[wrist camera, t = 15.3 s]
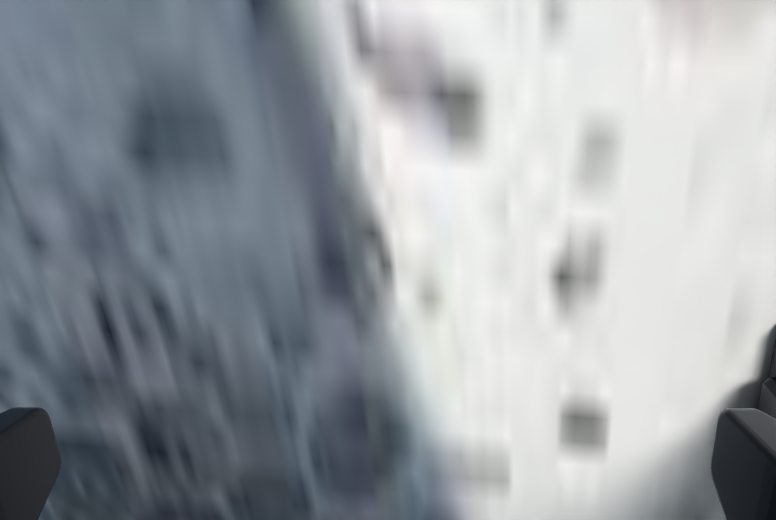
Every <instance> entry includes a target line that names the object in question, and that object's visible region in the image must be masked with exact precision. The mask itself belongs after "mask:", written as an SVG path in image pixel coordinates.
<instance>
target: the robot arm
mask: <svg viewBox="0 0 776 520" xmlns="http://www.w3.org/2000/svg"><path fill="white" fill-rule="evenodd" d="M60 463H61V462H60V453H59V450H58V446H57V442H56V439H55V435H54V431H53V428H52V424H51V420H50V417H49V415H48V413H47V412H46V411H45V410H44V409H42V408H22V407H16V408H12V409H9V410H7V411H5V412H2V413H0V520H38V518H39V516H40V513H41V511H42V509H43V507H44V505H45V503H46V500H47V498H48V496H49V494H50V492H51V489H52V487H53V485H54V483H55V481H56V479H57V476H58V473H59V470H60ZM711 473H712V478H713V482H714V485H715V488H716V491H717V494H718V497H719V500H720V503H721V506H722V508H723V511H724V514H725V517H726V520H776V341H775V347H774V352H773V357H772V362H771V368H770V373H769V378H767V379H766V381H765V382H764V383H763V385H762V389H761V395H760V400H759V405H758V409H754V408H727V409H724V410H723V411H722V412H721V413H720V415H719V417H718V421H717V427H716V433H715V440H714V446H713V452H712V458H711Z"/></svg>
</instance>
